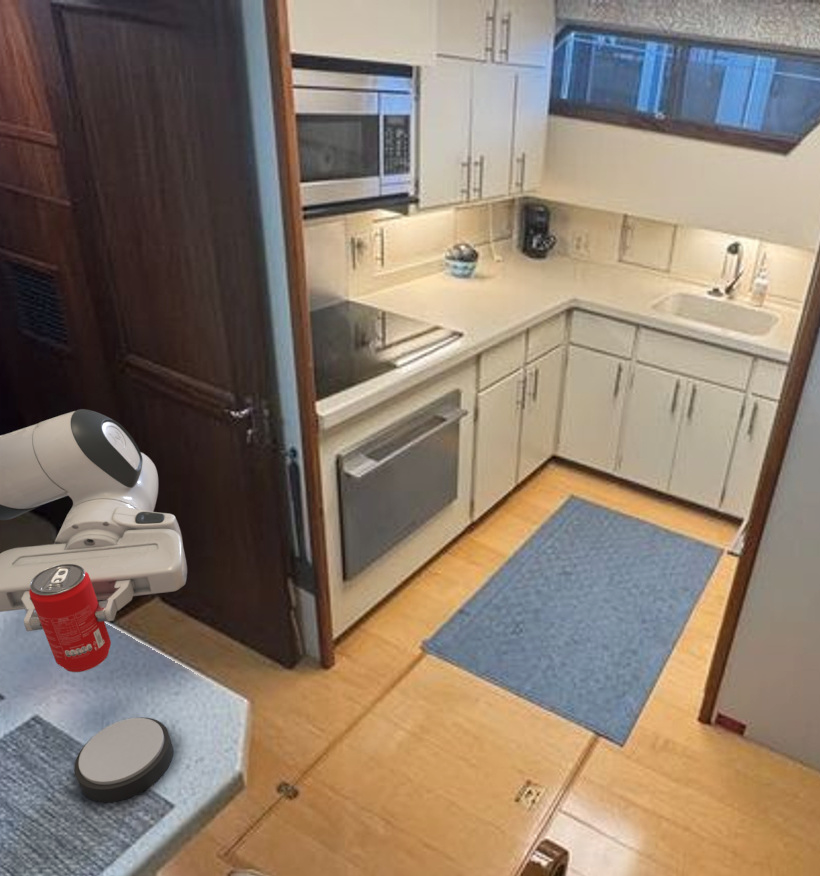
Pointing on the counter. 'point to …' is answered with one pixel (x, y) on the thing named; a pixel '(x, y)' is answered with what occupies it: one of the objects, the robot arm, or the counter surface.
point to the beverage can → (70, 617)
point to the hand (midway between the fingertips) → (69, 621)
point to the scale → (123, 759)
